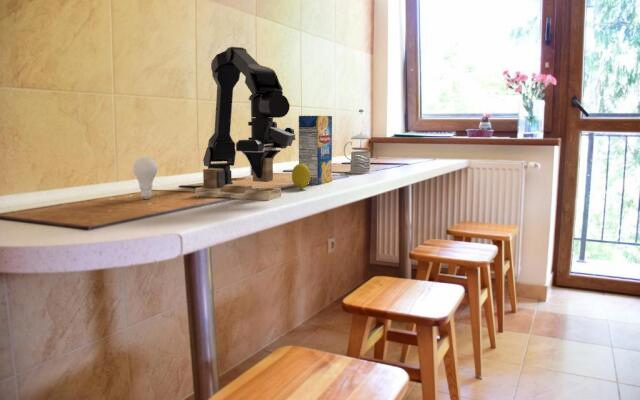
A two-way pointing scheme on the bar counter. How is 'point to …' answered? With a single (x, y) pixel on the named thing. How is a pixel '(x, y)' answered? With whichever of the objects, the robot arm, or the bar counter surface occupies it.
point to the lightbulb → (145, 174)
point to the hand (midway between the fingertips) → (262, 177)
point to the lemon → (301, 175)
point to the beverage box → (316, 147)
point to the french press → (354, 160)
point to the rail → (245, 195)
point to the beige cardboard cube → (265, 171)
